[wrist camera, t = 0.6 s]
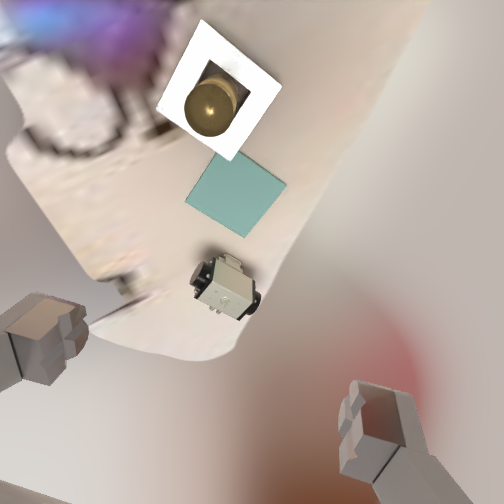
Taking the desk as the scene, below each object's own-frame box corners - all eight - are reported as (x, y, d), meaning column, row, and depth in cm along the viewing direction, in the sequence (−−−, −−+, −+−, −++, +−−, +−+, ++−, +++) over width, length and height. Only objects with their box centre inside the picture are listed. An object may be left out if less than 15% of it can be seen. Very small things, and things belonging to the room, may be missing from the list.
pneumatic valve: (209, 238, 59) (200, 279, 48) (260, 269, 62) (262, 312, 52) (193, 259, 61) (182, 301, 51) (244, 287, 65) (243, 332, 55)
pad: (224, 140, 49) (224, 141, 48) (286, 184, 53) (286, 186, 52) (186, 200, 54) (185, 201, 54) (244, 235, 58) (244, 238, 58)
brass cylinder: (214, 64, 44) (200, 72, 32) (245, 89, 45) (243, 105, 34) (194, 98, 46) (175, 117, 34) (225, 121, 48) (216, 146, 36)
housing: (205, 21, 41) (201, 19, 38) (279, 83, 45) (281, 86, 42) (162, 104, 46) (155, 109, 43) (231, 153, 50) (230, 161, 47)
